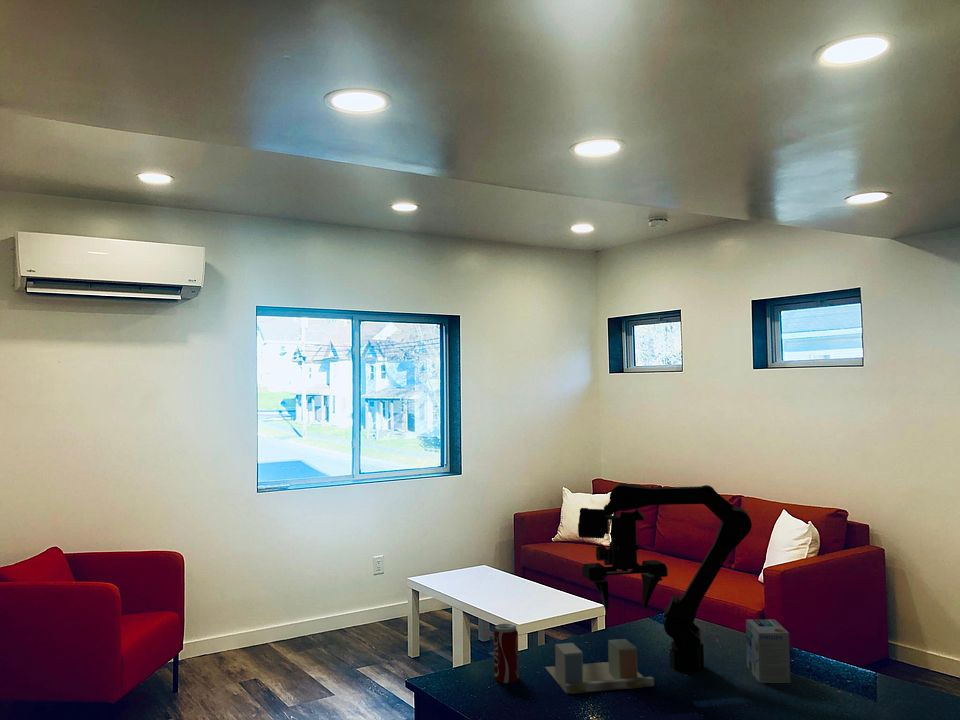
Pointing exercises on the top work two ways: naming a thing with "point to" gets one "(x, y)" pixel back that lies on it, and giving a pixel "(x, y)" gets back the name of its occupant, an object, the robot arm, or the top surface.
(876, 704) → the top surface
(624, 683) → the beige shallow tray
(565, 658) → the cream carton
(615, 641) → the sage carton
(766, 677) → the light bulb box
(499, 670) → the soda can
